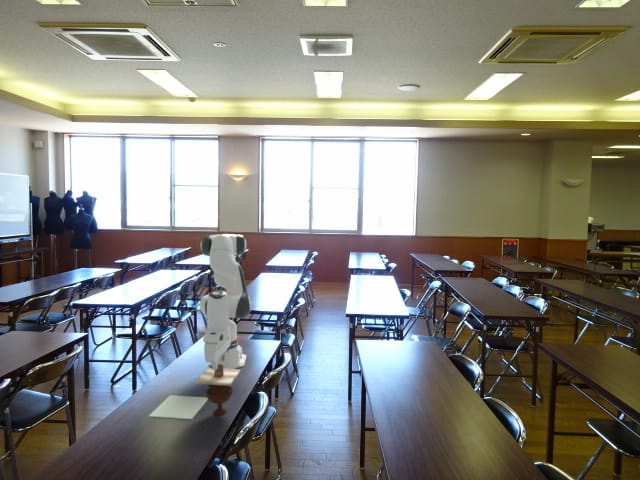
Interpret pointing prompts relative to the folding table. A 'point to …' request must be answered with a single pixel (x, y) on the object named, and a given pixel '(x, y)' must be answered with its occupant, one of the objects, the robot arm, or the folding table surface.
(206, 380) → the lid
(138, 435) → the folding table surface
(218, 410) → the ice cream bowl
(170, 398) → the lid mat
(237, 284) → the robot arm
